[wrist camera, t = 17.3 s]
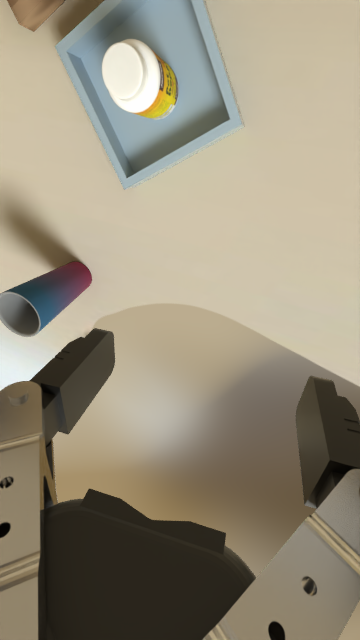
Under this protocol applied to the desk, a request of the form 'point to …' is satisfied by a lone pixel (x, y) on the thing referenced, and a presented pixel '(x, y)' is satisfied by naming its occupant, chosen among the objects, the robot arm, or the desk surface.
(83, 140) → the desk surface
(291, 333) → the desk surface
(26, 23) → the holder
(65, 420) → the robot arm
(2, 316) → the cup
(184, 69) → the tray
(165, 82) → the supplement bottle
